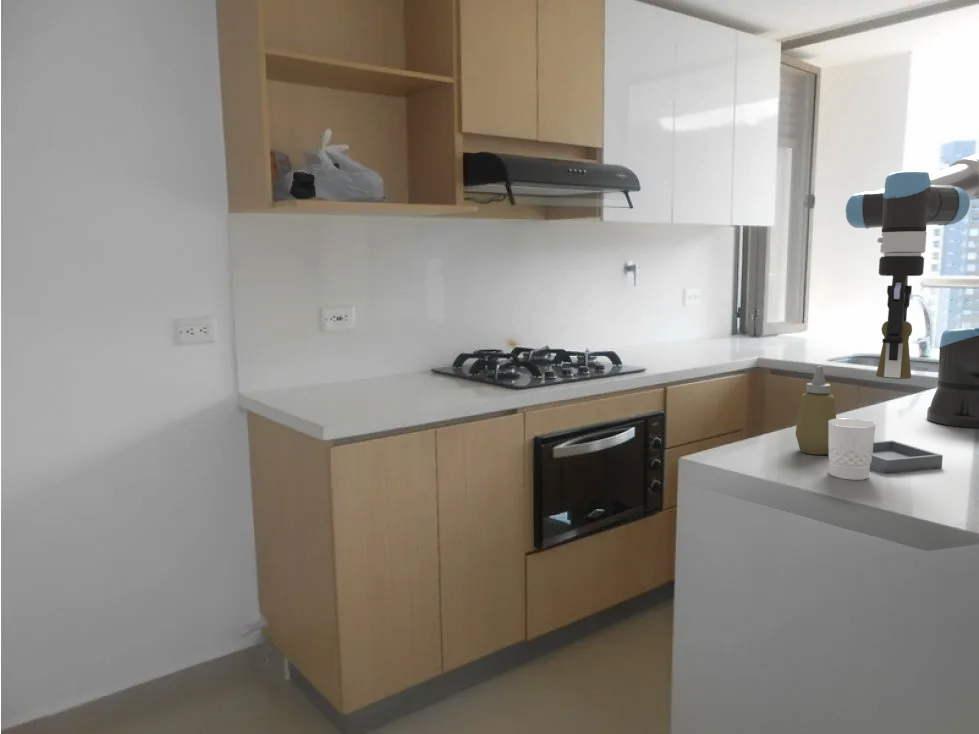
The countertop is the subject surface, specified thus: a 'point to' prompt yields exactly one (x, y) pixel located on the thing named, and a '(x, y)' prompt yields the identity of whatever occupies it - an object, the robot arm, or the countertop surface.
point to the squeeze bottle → (815, 415)
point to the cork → (905, 353)
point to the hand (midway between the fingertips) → (893, 374)
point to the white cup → (850, 448)
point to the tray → (902, 457)
